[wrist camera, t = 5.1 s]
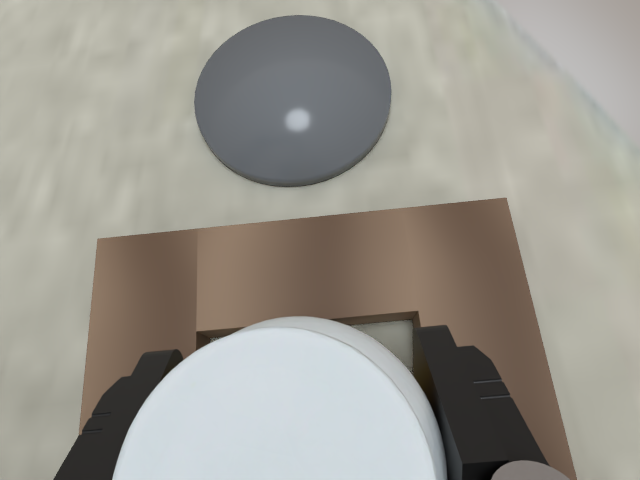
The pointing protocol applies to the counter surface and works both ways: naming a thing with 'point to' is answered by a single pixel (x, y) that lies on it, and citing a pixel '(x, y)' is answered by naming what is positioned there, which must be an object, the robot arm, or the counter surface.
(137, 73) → the counter surface
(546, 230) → the counter surface
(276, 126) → the coaster
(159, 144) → the counter surface
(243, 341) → the supplement bottle
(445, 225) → the pocket board
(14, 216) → the counter surface
